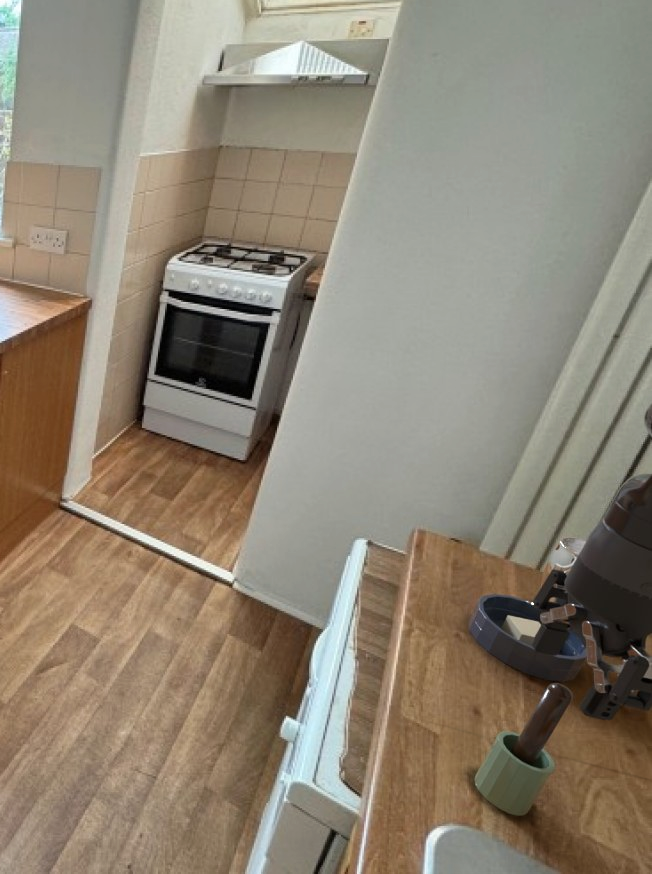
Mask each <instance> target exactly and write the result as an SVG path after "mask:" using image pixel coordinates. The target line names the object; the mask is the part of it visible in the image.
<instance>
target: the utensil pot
mask: <svg viewBox="0 0 652 874" xmlns="http://www.w3.org/2000/svg"><path fill="white" fill-rule="evenodd" d="M520 734H521V733H517V732H514V731H510V730H505V731H504V730H503V731H501V732H499V733H498V734H497V735H496V737H495V739H494V741H493V742H492V745H490V748H489V750H488V751H487V753H486V756H485V757H484V759H483V761H482V763H481V764H480V767H479V768H478V770H477V771H476V774H475V775H474V784H475V787H476V788H477V791H478V792H479V793H480V794H481V795H482V796H483V798H485V799H486V800H487V801H488V802H489V803H490V804H491V805H493V806H494V807H496V808H497V809H499V810H501V811H503V812H505V813H507V814H510V815H512V816H518V817H521V816H525V815H527V814H528V813H529V812H530V810H531V809H532V807H533V805H534V804H535V803H536V800H537V799H538V797H539V796H540V794H541V792H542V791H543V789H544V787H545V786H546V784H547V783H548V782H549V780H550V779H551V776H552V775H553V773H554V772H555V770H556V764H555V761H554V759H553V758H552V756H551V755H550V754H549V753H548V752H547V750H546V749H545V748H543V749H542V751H541V753H540V754H539V756H538V758H537V759H536V761H535V763H534V764H533V766H530V765H528V764H526V763H524V762H522V761H521V760H519V759H518V758H516V757H515V756H514V755H513V754H512V753H511V750H512V748H513V747H514V745H515V743H516V741H517V740H518V738H519V736H520Z"/></svg>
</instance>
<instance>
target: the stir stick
mask: <svg viewBox="0 0 652 874" xmlns="http://www.w3.org/2000/svg"><path fill="white" fill-rule="evenodd" d="M573 699H574V696H573V692H572V691H571V690H570V689H569V687H567V686H566V685H564V684H562V683H560V682H554V683H550V684H549V685H548V686H547V687H546V689H545V691H544V693H543V694H542V696H541V697H540V699H539V701H538V702H537V705H536V706H535V708H534V710H533V712H532V713H531V715H530V717H529V719H528V721H527V722H526V724H525V725H524V727H523V729H522V732H521V733H519V734H520V736H519V738H518V740H517V741H516V743H515V745H514V747H513V748H512V750H511V753H512V754H513V755H514V756H515V757H516V758H518V759H519V760H521V761H522V762H524V763H526V764H528V765H530V766H533V764H534V763H535V761H536V759H537V758H538V756H539V754H540V753H541V751H542V749H545V746H546V745H547V743H548V741H549V739H550V738H551V736H552V735H553V733H554V731H555V729H556V728H557V726H558V724H559V723H560V721H561V720H562V718H563V716H564V714H565V713H566V712H567V710H568V708H569V706H570V705H571V703H572V701H573Z"/></svg>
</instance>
